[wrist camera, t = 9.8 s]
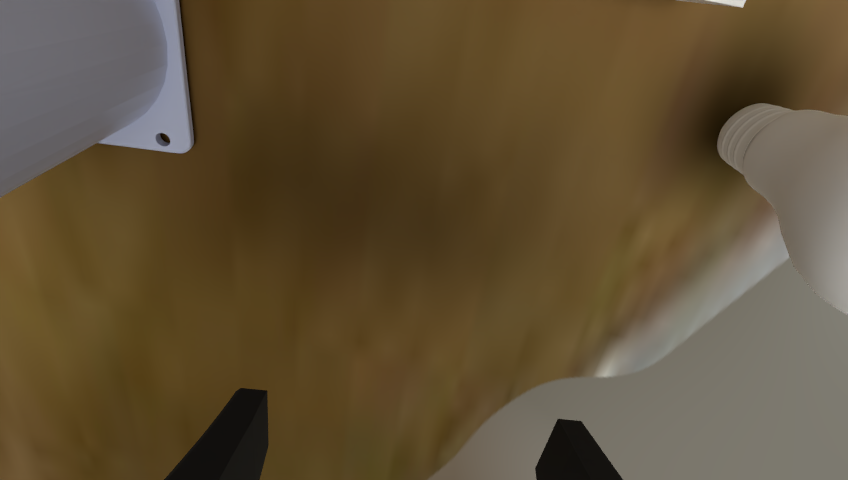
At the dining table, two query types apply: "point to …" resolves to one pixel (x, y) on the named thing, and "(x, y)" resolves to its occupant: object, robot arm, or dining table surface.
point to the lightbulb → (799, 185)
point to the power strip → (720, 2)
